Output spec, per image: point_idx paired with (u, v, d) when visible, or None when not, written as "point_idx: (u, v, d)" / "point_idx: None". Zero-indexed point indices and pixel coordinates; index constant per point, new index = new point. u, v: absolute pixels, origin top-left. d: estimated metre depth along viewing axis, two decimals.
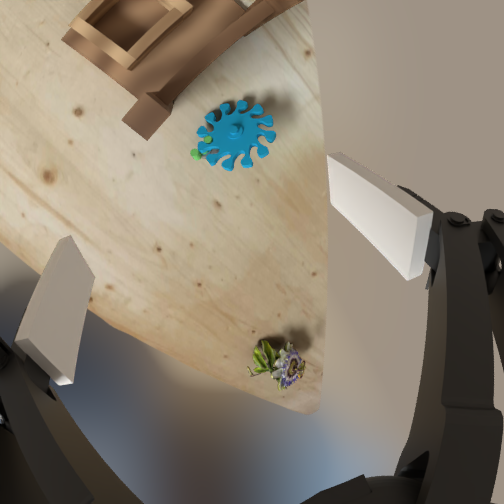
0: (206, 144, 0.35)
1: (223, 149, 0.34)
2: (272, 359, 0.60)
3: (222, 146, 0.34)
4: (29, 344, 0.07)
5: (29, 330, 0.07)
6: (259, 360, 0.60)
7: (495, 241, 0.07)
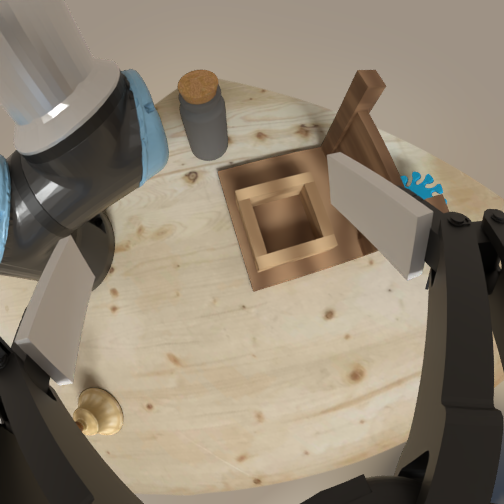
0: None
1: None
2: None
3: None
4: (29, 344, 0.07)
5: (29, 330, 0.07)
6: None
7: (495, 241, 0.07)
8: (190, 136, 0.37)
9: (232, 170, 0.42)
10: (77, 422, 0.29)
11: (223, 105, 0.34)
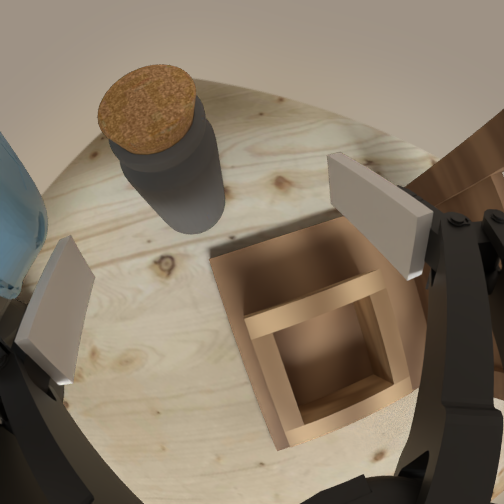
0: None
1: None
2: None
3: None
4: (29, 344, 0.07)
5: (29, 330, 0.07)
6: None
7: (495, 241, 0.07)
8: (151, 206, 0.19)
9: (235, 256, 0.24)
10: None
11: (212, 145, 0.16)
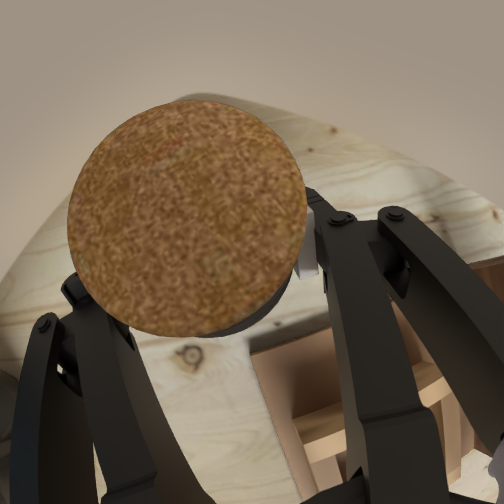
0: None
1: None
2: None
3: None
4: None
5: None
6: None
7: (397, 243, 0.08)
8: None
9: (284, 352, 0.18)
10: None
11: None
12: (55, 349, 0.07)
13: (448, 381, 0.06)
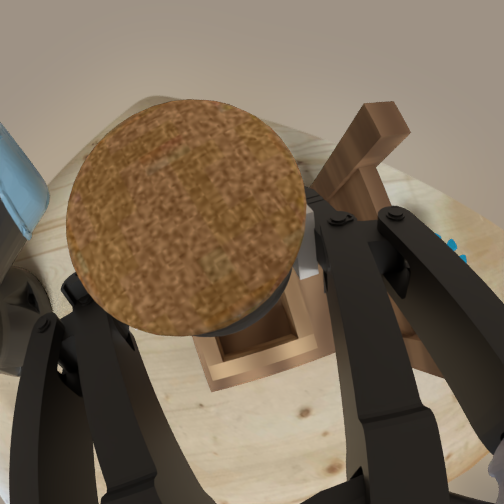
0: None
1: None
2: None
3: None
4: None
5: None
6: None
7: (397, 243, 0.08)
8: None
9: None
10: None
11: None
12: (55, 349, 0.07)
13: (448, 380, 0.06)
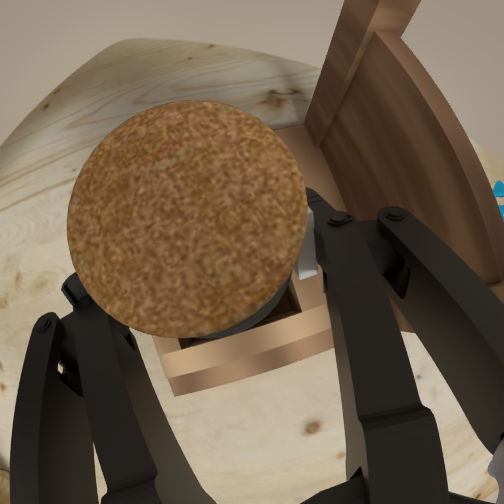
0: None
1: None
2: None
3: None
4: None
5: None
6: None
7: (396, 243, 0.08)
8: None
9: None
10: None
11: None
12: (55, 349, 0.07)
13: (448, 380, 0.06)
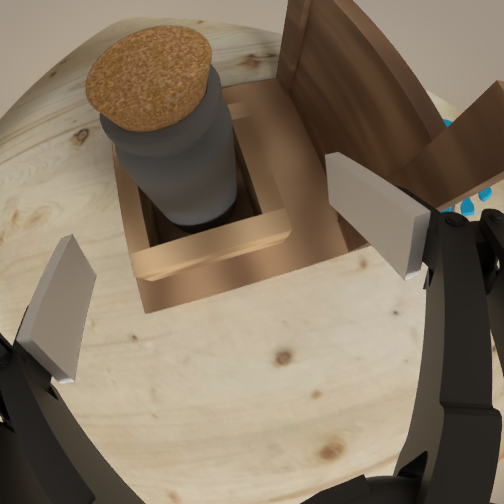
0: None
1: None
2: None
3: None
4: (31, 342, 0.07)
5: (31, 328, 0.07)
6: None
7: (493, 241, 0.07)
8: (151, 200, 0.16)
9: None
10: None
11: (228, 126, 0.12)
12: None
13: None
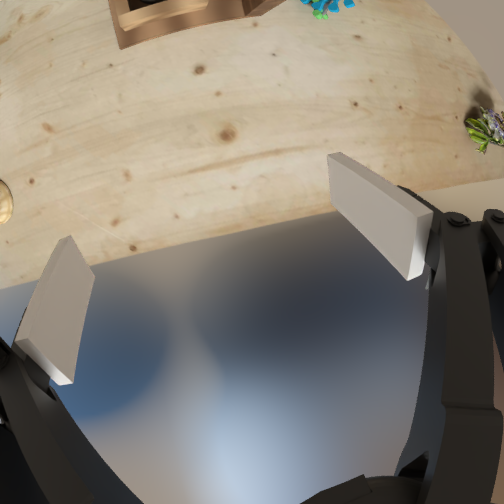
0: (318, 2, 0.27)
1: None
2: (484, 128, 0.43)
3: None
4: (29, 344, 0.07)
5: (29, 330, 0.07)
6: (478, 136, 0.45)
7: (495, 241, 0.07)
8: None
9: None
10: None
11: None
12: None
13: None
